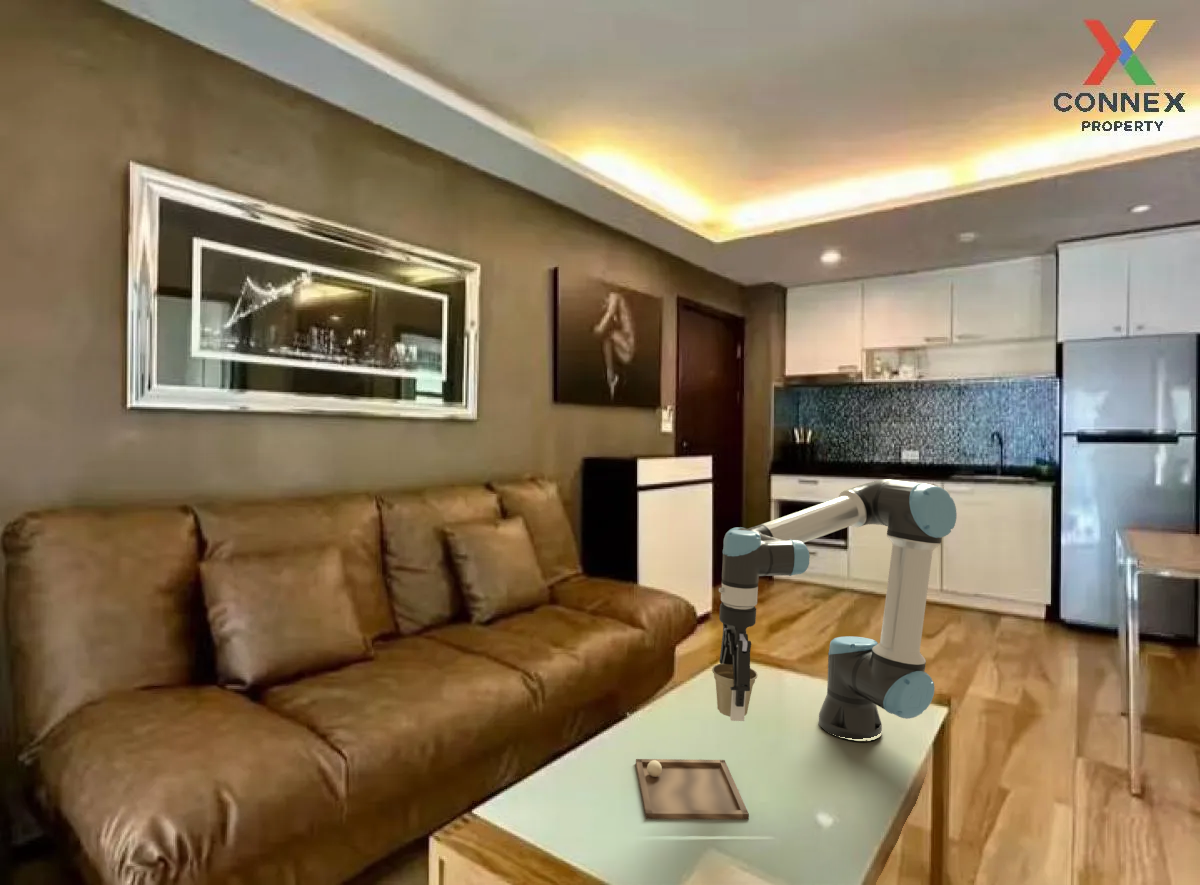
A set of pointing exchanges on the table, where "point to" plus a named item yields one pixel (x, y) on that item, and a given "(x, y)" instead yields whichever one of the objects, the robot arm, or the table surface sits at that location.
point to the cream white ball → (654, 768)
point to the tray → (690, 790)
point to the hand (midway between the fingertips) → (731, 710)
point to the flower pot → (723, 684)
